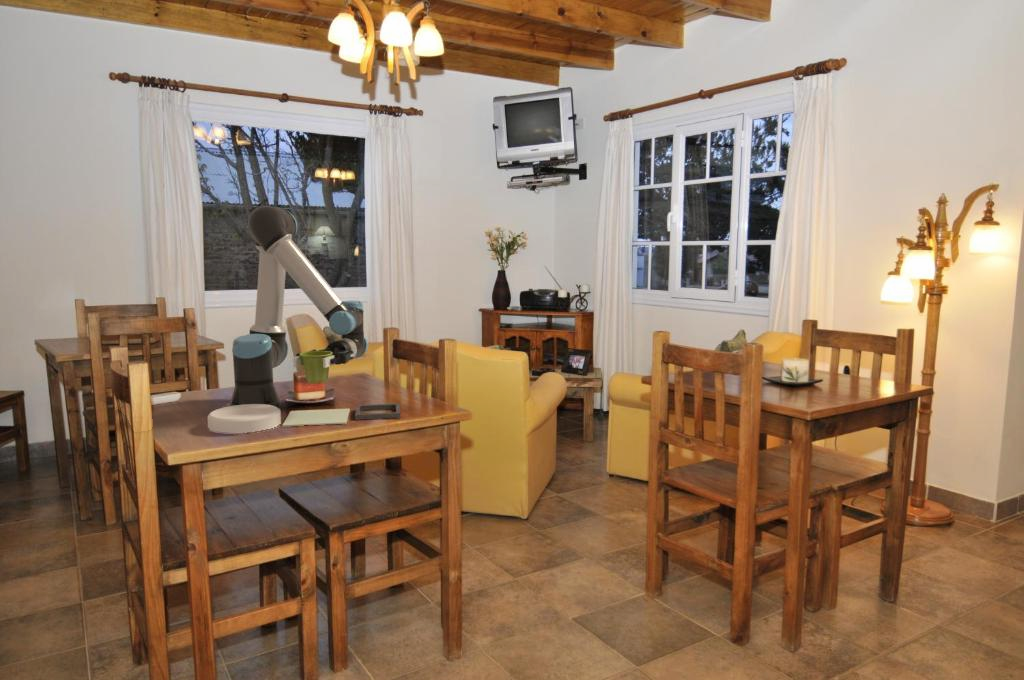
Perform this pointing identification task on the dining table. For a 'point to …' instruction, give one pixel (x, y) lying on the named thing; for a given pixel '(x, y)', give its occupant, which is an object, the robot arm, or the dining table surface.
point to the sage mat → (316, 417)
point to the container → (244, 418)
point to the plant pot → (315, 366)
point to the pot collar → (377, 415)
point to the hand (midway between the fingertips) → (309, 362)
